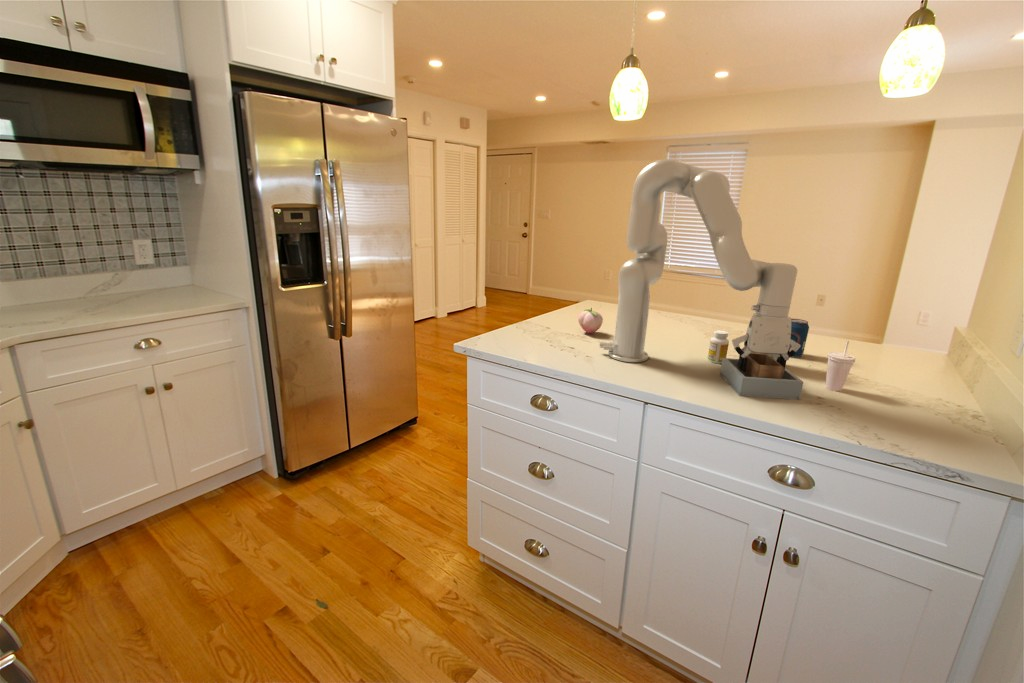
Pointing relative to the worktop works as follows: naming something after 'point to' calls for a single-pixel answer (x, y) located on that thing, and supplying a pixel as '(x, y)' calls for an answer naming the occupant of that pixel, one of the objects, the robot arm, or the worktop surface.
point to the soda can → (799, 335)
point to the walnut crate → (762, 367)
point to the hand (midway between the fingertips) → (760, 371)
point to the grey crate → (761, 383)
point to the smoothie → (838, 369)
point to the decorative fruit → (590, 320)
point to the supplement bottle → (718, 347)
